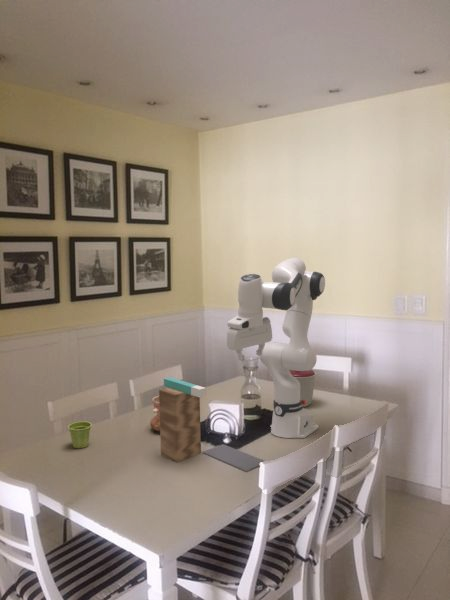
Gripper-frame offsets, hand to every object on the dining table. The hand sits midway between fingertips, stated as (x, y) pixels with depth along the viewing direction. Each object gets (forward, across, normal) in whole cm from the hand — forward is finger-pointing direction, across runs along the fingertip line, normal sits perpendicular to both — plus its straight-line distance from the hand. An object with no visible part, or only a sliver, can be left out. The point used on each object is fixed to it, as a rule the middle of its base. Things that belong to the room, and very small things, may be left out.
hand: (250, 357), depth 181 cm
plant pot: (+42, +38, -61) cm, 83 cm away
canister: (+44, -67, -31) cm, 86 cm away
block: (+15, +13, -23) cm, 30 cm away
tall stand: (+41, +14, -25) cm, 50 cm away
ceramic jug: (+43, +1, -51) cm, 67 cm away
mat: (+41, +2, -7) cm, 42 cm away
